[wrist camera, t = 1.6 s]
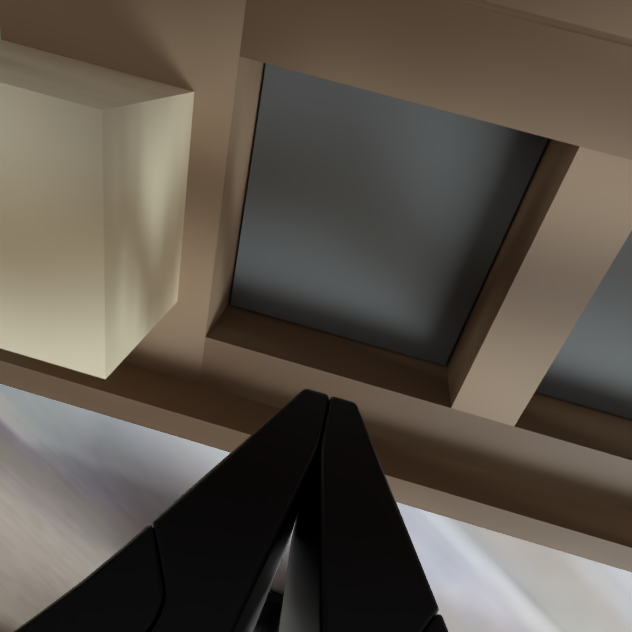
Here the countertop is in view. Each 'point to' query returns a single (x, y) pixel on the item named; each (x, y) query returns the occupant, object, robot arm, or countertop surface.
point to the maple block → (87, 207)
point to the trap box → (393, 241)
